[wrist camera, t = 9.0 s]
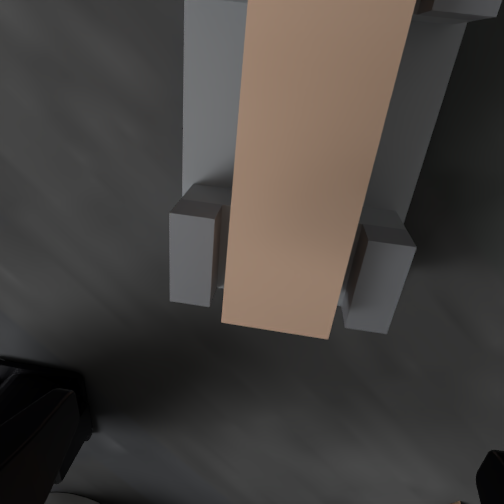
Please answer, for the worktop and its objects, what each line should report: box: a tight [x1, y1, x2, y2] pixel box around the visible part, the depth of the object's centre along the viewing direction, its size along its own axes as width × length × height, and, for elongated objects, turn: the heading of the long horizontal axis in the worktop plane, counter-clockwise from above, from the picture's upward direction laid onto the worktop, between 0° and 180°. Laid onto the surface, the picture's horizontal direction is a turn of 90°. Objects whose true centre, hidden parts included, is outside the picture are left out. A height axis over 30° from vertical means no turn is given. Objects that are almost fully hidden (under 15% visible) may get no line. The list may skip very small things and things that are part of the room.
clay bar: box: [221, 0, 416, 339], centre depth 12 cm, size 4×14×3 cm, turn 174°
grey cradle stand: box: [169, 0, 502, 334], centre depth 14 cm, size 10×17×4 cm, turn 175°
